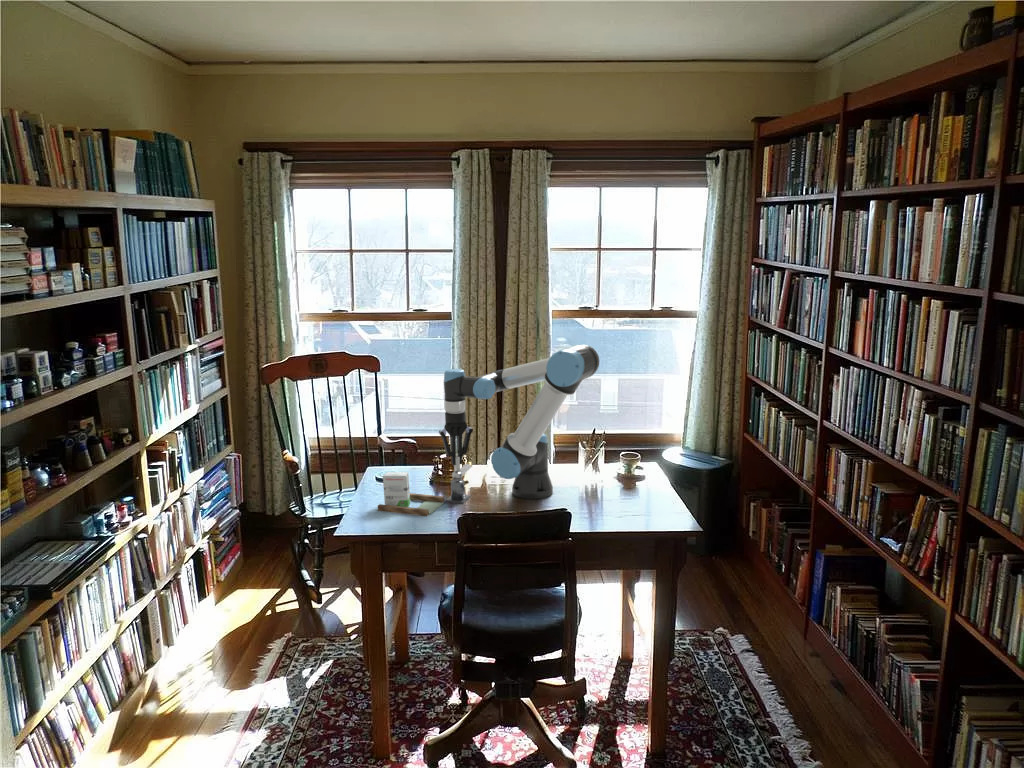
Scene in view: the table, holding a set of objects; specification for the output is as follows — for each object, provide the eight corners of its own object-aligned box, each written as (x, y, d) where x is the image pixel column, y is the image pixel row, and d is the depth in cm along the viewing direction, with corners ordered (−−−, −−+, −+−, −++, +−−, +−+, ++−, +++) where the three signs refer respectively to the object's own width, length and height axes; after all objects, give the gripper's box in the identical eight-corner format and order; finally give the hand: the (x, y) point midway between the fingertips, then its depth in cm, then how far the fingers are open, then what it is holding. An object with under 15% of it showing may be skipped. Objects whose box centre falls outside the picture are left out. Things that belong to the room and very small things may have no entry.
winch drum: (470, 497, 283) (469, 476, 282) (463, 503, 277) (462, 482, 275) (453, 495, 285) (452, 474, 284) (445, 501, 279) (444, 480, 277)
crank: (460, 481, 277) (460, 474, 277) (451, 480, 278) (450, 473, 278) (474, 467, 293) (474, 461, 292) (465, 466, 294) (465, 460, 293)
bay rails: (444, 501, 279) (444, 496, 279) (426, 516, 265) (426, 510, 265) (397, 497, 285) (397, 491, 285) (377, 511, 271) (377, 505, 271)
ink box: (411, 502, 279) (409, 471, 276) (407, 507, 274) (406, 475, 272) (387, 502, 280) (386, 471, 277) (384, 507, 275) (382, 475, 272)
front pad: (443, 503, 277) (443, 502, 277) (430, 514, 267) (430, 513, 267) (425, 501, 279) (425, 500, 279) (412, 512, 269) (412, 511, 269)
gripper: (468, 407, 288) (470, 468, 292) (435, 410, 283) (437, 472, 288) (475, 411, 281) (476, 473, 285) (441, 415, 276) (443, 477, 281)
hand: (457, 472), depth 286 cm, fingers closed
